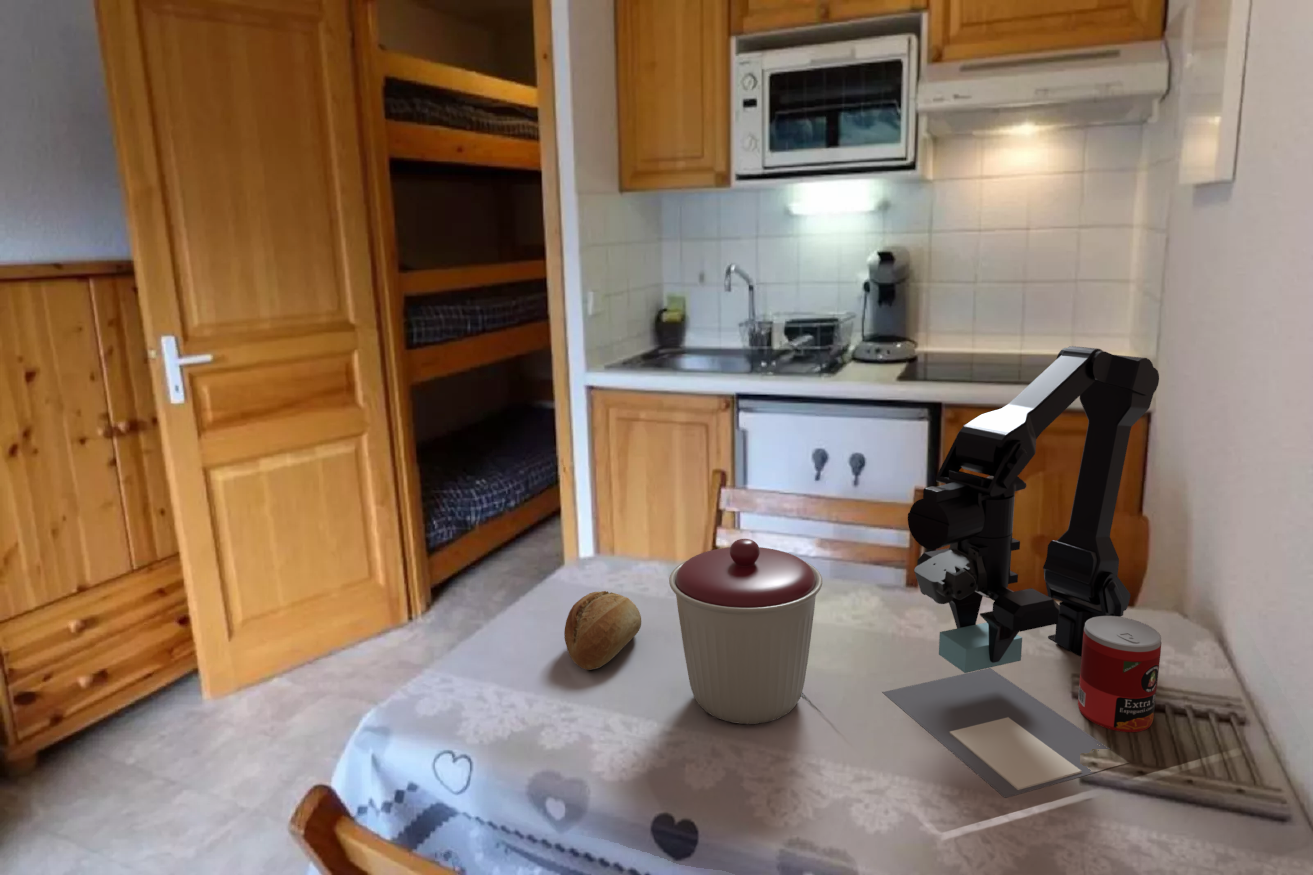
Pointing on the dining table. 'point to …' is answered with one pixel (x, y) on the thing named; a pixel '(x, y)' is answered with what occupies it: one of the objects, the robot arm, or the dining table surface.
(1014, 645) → the block
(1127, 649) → the canned food
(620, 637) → the bread roll
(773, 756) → the dining table surface
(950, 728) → the mat
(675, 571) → the canister
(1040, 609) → the robot arm
